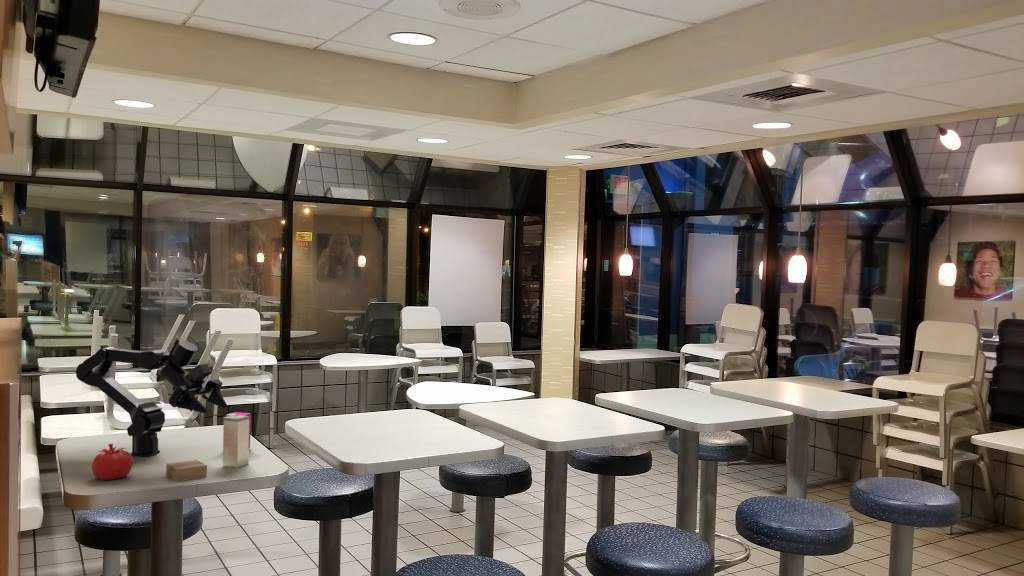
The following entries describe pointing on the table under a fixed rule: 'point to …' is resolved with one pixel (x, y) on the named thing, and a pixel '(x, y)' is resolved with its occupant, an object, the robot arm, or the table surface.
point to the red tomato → (112, 464)
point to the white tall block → (235, 440)
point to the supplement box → (243, 415)
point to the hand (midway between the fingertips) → (216, 409)
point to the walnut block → (186, 470)
